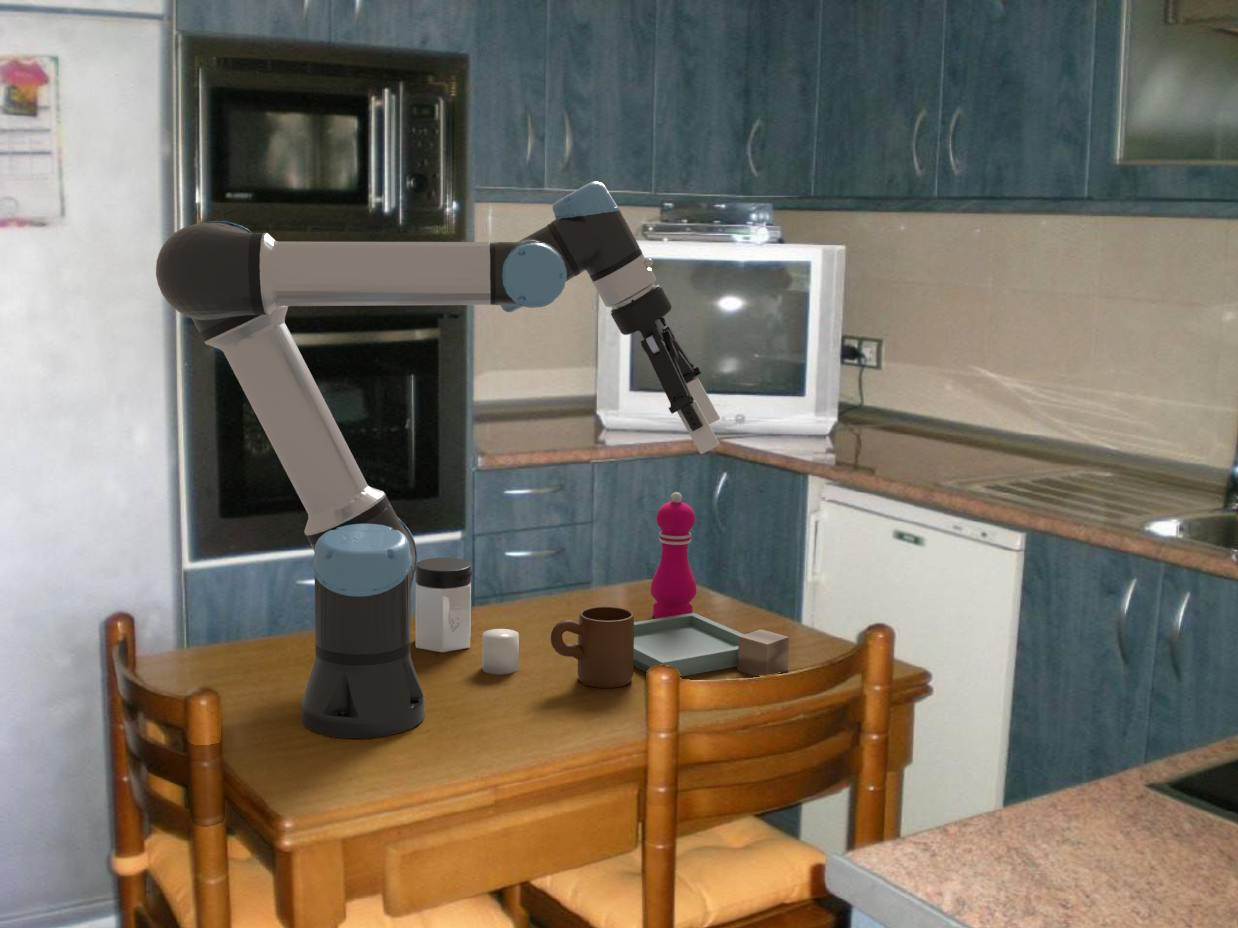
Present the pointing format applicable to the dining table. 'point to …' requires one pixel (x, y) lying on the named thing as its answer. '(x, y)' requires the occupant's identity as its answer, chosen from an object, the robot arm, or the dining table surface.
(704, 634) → the tray
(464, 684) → the dining table surface
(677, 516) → the pepper mill
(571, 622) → the mug
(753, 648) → the block
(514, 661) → the white rounded cylinder
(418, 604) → the jar
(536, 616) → the dining table surface
